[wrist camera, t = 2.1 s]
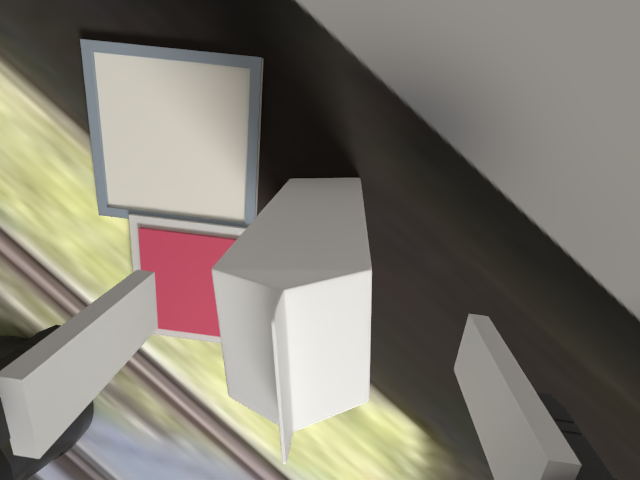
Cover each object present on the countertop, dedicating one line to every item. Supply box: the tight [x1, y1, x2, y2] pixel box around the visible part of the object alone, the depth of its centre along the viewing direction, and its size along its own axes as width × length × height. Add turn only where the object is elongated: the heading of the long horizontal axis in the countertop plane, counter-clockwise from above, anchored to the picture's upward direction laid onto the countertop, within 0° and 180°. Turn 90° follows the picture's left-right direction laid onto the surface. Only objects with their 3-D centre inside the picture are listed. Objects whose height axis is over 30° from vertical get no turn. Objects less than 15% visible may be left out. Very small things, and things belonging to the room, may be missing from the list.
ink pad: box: [129, 214, 246, 343], centre depth 35 cm, size 12×12×2 cm
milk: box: [212, 178, 372, 464], centre depth 22 cm, size 6×6×22 cm
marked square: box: [80, 39, 263, 228], centre depth 31 cm, size 14×14×1 cm
